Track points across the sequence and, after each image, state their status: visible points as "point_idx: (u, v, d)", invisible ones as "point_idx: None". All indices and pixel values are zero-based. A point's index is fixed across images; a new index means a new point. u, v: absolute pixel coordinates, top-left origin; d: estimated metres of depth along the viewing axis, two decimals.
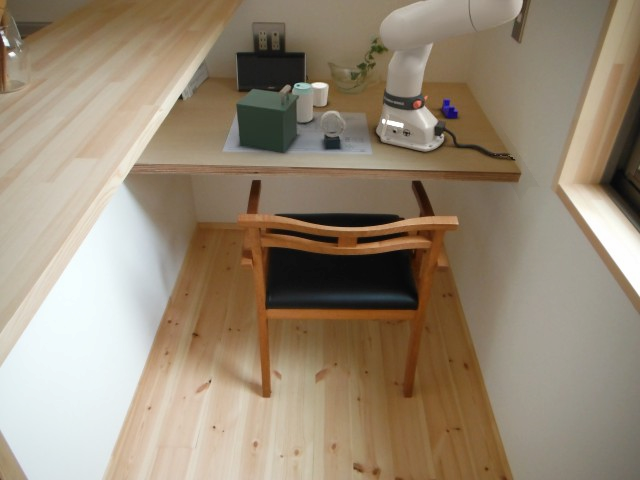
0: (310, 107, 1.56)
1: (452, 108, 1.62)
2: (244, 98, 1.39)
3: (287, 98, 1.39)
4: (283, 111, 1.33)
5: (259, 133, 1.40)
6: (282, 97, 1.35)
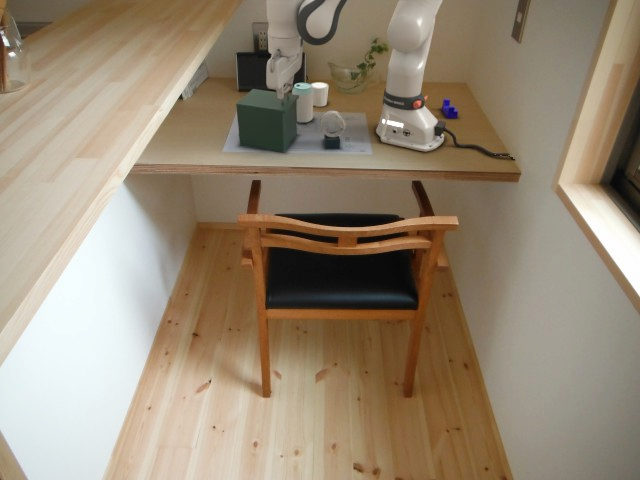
0: (310, 107, 1.56)
1: (452, 108, 1.62)
2: (244, 98, 1.39)
3: (287, 98, 1.39)
4: (283, 111, 1.33)
5: (259, 133, 1.40)
6: None
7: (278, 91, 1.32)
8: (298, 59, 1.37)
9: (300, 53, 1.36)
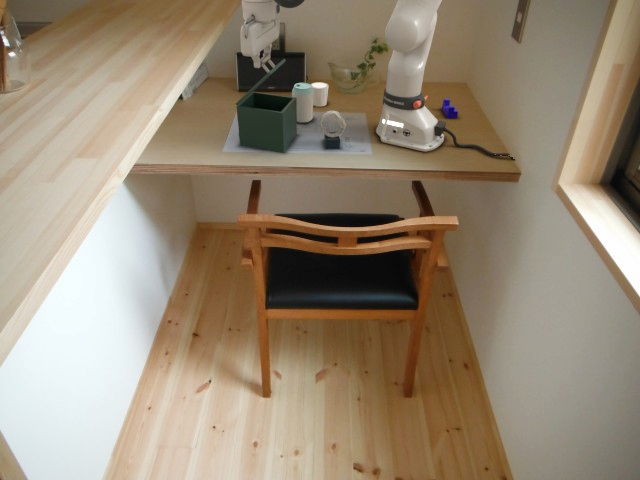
0: (310, 107, 1.56)
1: (452, 108, 1.62)
2: None
3: (273, 66, 1.35)
4: (268, 74, 1.28)
5: (259, 133, 1.40)
6: (263, 65, 1.30)
7: (254, 59, 1.28)
8: (275, 27, 1.33)
9: (277, 21, 1.33)
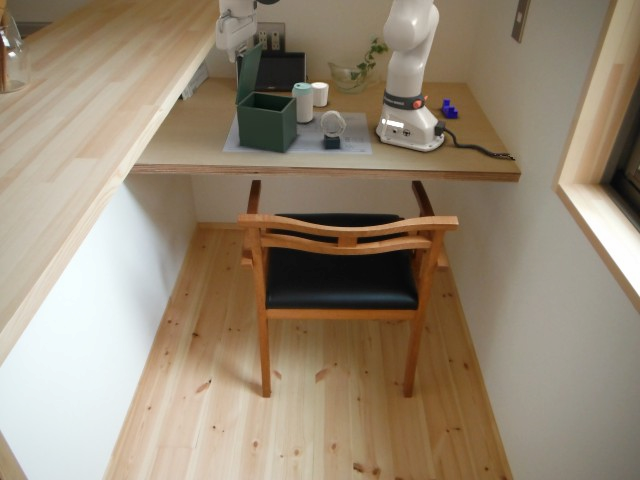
0: (310, 107, 1.56)
1: (452, 108, 1.62)
2: None
3: None
4: (244, 56, 1.26)
5: (259, 133, 1.40)
6: (240, 54, 1.30)
7: (230, 54, 1.29)
8: (252, 23, 1.34)
9: (255, 17, 1.34)
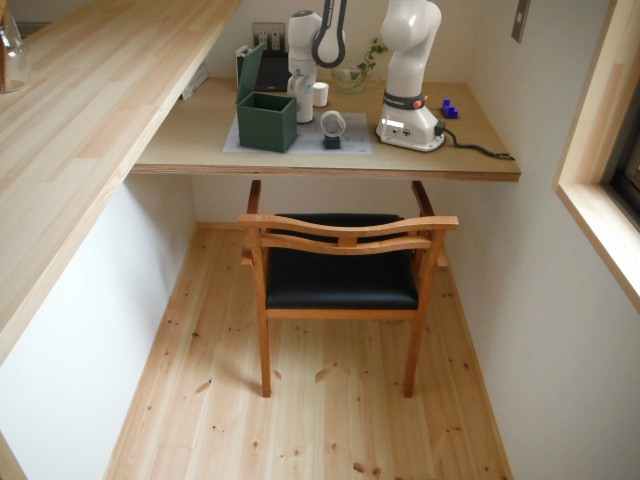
0: (310, 107, 1.56)
1: (452, 108, 1.62)
2: None
3: None
4: (245, 56, 1.26)
5: (259, 133, 1.40)
6: (241, 54, 1.30)
7: None
8: (313, 76, 1.58)
9: (315, 71, 1.58)
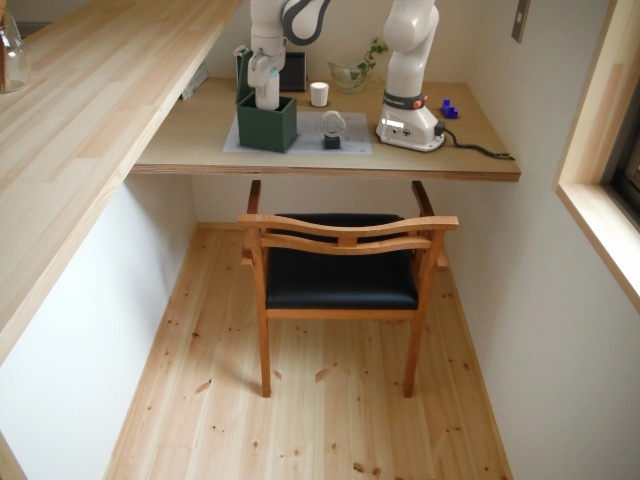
0: (275, 93, 1.36)
1: (452, 108, 1.62)
2: None
3: None
4: (242, 55, 1.26)
5: (259, 133, 1.40)
6: (239, 54, 1.30)
7: (258, 90, 1.32)
8: (281, 59, 1.38)
9: (283, 53, 1.38)
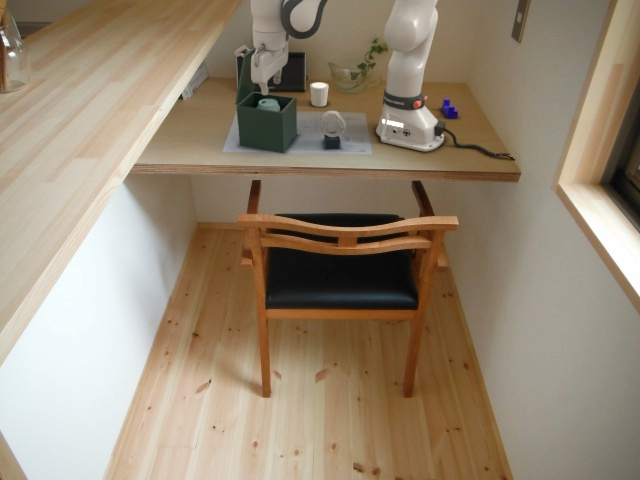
0: None
1: (452, 108, 1.62)
2: None
3: None
4: (244, 56, 1.26)
5: (259, 133, 1.40)
6: (240, 54, 1.30)
7: (262, 87, 1.31)
8: (284, 54, 1.37)
9: (286, 48, 1.37)
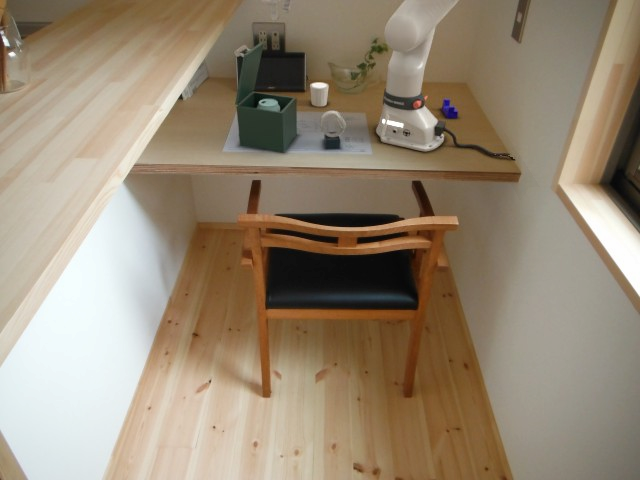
0: None
1: (452, 108, 1.62)
2: None
3: None
4: (244, 56, 1.26)
5: (259, 133, 1.40)
6: (240, 54, 1.30)
7: (272, 11, 1.27)
8: None
9: None
